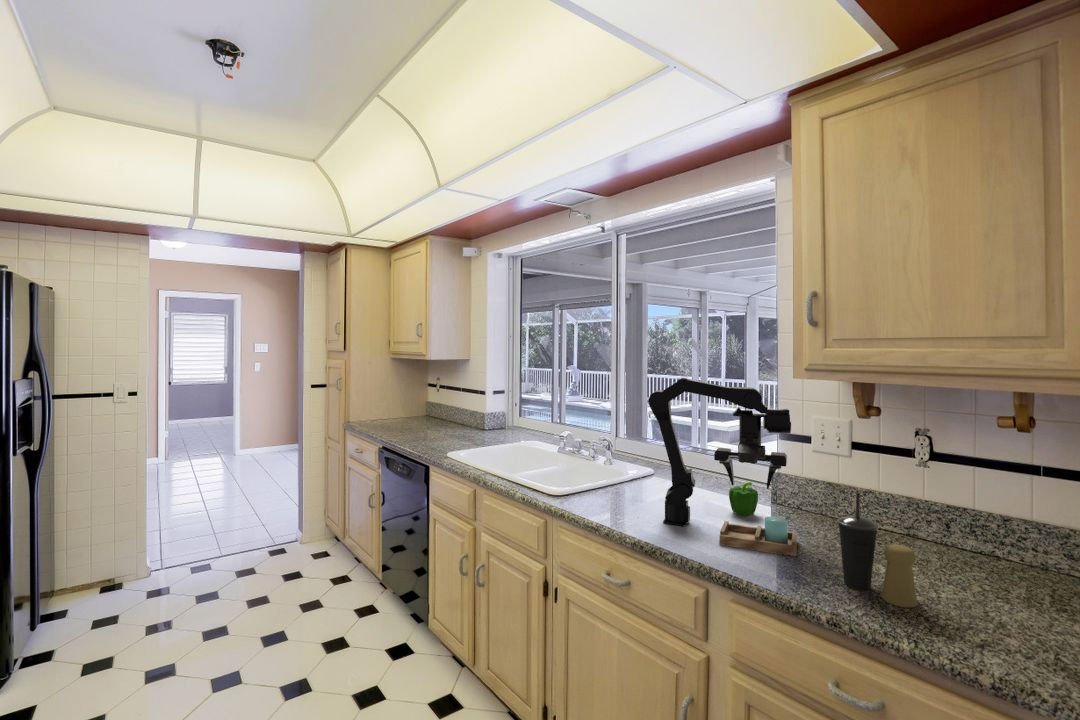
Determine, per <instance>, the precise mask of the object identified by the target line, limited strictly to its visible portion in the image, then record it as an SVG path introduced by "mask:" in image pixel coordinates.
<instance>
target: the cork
mask: <svg viewBox="0 0 1080 720" xmlns="http://www.w3.org/2000/svg"><path fill="white" fill-rule="evenodd" d="M883 554H884V558H885V560H886V561H887V562H886V566H885V567H886V568H885V573H884V579H883V585H882V591H881V598H882V600H884V601H885V602H886V603H888V604H890V605H894V606H897V607H901V608H911V609H912V608H916V607H917V606H918V599H917V592H916V586H915V585H916V584H915V579H914V578H915V577H914V572H913V571H914V570H913V565H914V564H915V562H916V554H915V552H914V550H913V549H912V548H910V547H908V546H906V545H901V544H894V543H893V544H888V545H886V546H885V547H884V551H883Z"/></svg>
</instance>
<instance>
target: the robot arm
mask: <svg viewBox="0 0 1080 720" xmlns="http://www.w3.org/2000/svg"><path fill="white" fill-rule="evenodd" d="M684 393H688V394H689V393H690V394H694V395H695V394H696V395H698V396H699V395H700V396H705V397H709V398H715V399H719V400H723V401H727V402H730V403H732V404H735V405H737V408H736V409H735V410H734V411H733V412H732V416H733V417H738V418H739V421H738V423H739V428H738V429H739V430H738V431H739V436H738V440H739V442H738V445H737V451H732V449H731V448H728V447H726V448H725V447H718V448H717V449H715V451H714V456H713V457H714V458H713V459H714V461H717V462H718V461H719V462H718V463H719V464H720V465H723V466H724V468H725V470H726V472H727V475H728V477H729V481H730V483H731V486H734V485H735V476H734V466H733V465H734V464H733V459H734V460H738V462H739V463H741V464H744V463H749V464H751V465H754V464H758V462H769V465H768V466H769V467H768V473H767V479H766V480H767V481H766V489H767V490H769V488H770V486H771V483H772V481H773V477H774V475H775V473H776V471H777V470H781V469H782V467H787V463H788V461H787V460H788V458H787V457H788V455H787V453H785V452H777V451H771V452H770V454H766V446H765V445H762V426H763V429H764V430H766V431H767V434H780V435H781V434H785V435H791V432H792V422H791V416H790V410H789V409H788V408H781V409H779V408H778V409H770V408H768V406H767V405H765V404H764V403H763V398H762V395H761V393H760V392H759V391H758V389H756V388H755V387H749V386H746V387H745V386H741V387H740V386H724V385H718V384H714V383H710V382H705V381H704V382H703V381H698V380H694V379H690V378H688V377H681V378H679V379H678V380H677V381H676V382H674V383H672V384H671V385H670V386H668V387H666V388H664V389H658V390H655V391H653V392H652V393H651V394H650V395H649V397H648V401H647V402H648V406H649V407H650V410H651V412H652V414H653V416H654V418H655V419H656V421H657V422H658V426H659V429H660V433H661V436H662V440H663V444H664V447H665V451H666V454H667V457H668V461H669V466H670V470H671V486H670V487H669V488H668V489H667V491H666V494H665V496H664V498H665V500H664V519H663V520H662V523H664V524H670V525H676V526H682V527H684V526H685V527H686V526H687V525H688V523H689V522H690V521H691V506H689V500H687V499H689V498H691V497H692V496H693V493H694V488H695V487H696V479H695V478H694V476H693V474H694V473H693V469H692V468H689V469H688V468H687V466H686V465H685V463H684V460H683V457H682V456H683V455H682V452H681V448H680V445H679V442H678V441H679V440H678V439H677V438H678V437H677V435H676V434H677V433H676V431H675V426H674V424H673V420H672V408H671V407H672V406H671V405H672V404H671V402H672V401H673V400H674V399H676V398H678V397H679V396H681V395H682V394H684ZM740 407H742V408H745V409H747V410H745V409H741V408H740ZM753 410H755V411H756V412H758V413H753ZM762 424H763V425H762Z"/></svg>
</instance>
